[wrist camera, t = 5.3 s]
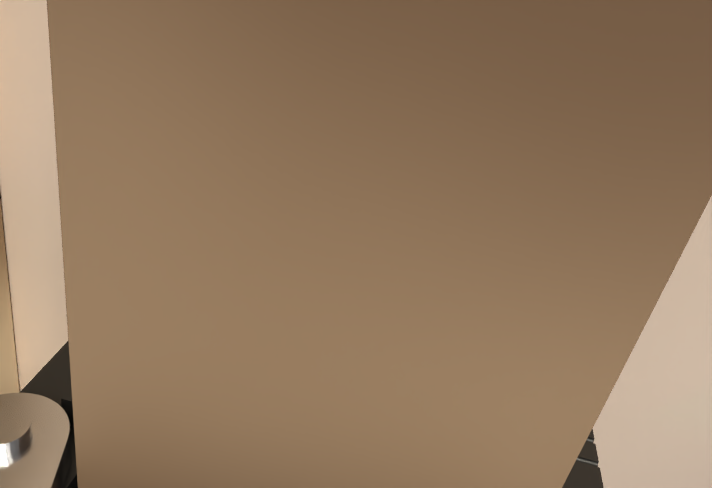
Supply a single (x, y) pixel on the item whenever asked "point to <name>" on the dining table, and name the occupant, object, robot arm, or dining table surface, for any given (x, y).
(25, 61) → the dining table surface
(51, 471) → the robot arm
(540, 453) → the shelf board
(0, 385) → the peg jig
